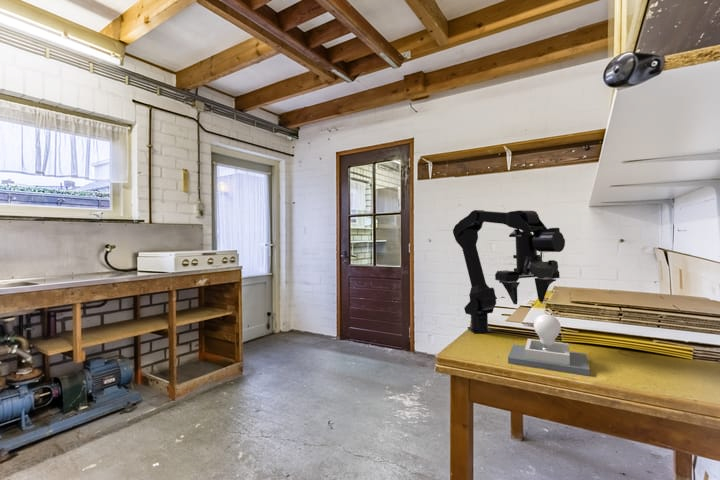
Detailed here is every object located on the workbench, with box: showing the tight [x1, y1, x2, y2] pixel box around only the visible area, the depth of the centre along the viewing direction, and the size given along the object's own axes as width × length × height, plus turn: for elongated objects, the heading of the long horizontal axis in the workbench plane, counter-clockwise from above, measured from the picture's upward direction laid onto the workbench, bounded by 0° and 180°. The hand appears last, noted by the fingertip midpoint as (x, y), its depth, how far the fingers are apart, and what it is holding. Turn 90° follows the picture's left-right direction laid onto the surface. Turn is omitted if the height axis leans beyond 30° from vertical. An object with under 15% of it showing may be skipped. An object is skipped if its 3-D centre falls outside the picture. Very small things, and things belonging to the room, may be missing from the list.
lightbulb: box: [533, 313, 562, 352], centre depth 90 cm, size 6×6×11 cm
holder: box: [507, 338, 591, 377], centre depth 90 cm, size 18×12×4 cm, turn 59°
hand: (528, 303), depth 102 cm, fingers open, 9 cm apart
